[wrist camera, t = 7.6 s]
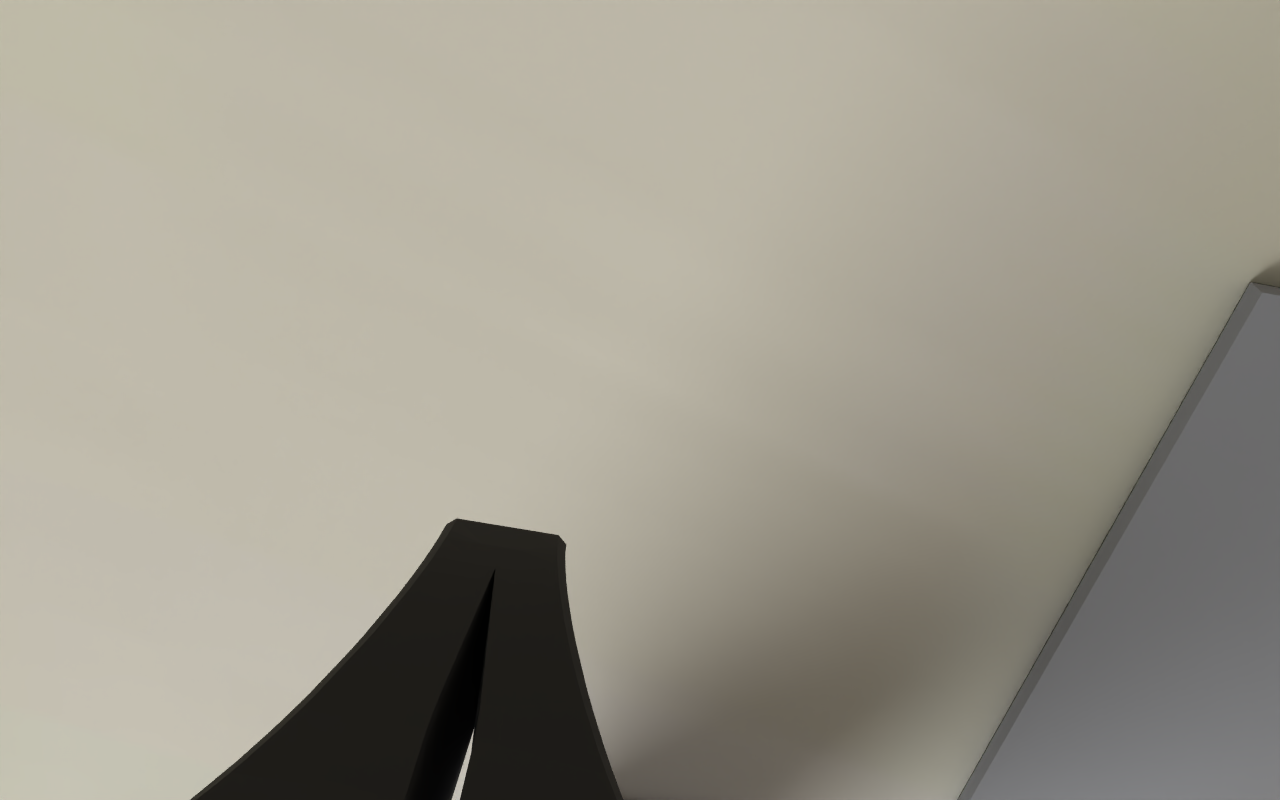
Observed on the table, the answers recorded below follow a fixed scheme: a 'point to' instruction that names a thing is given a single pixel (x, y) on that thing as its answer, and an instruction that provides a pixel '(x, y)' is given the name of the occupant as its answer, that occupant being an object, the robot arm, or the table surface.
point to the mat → (1171, 613)
